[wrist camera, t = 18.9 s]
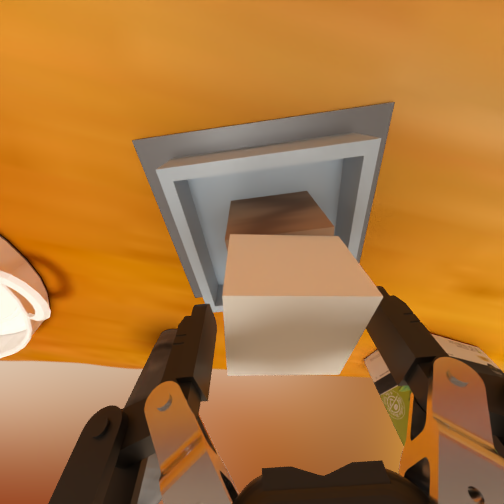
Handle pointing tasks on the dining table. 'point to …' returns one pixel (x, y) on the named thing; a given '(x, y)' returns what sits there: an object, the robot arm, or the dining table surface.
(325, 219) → the walnut block
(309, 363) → the cream block
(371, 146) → the grey shallow box
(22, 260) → the pan
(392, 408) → the tea box
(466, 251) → the dining table surface
